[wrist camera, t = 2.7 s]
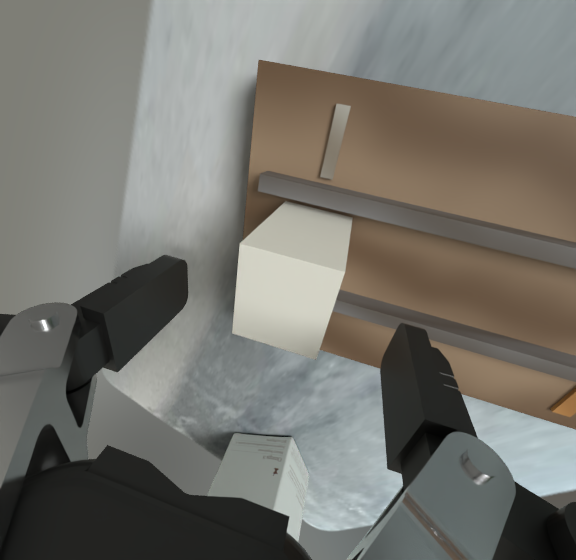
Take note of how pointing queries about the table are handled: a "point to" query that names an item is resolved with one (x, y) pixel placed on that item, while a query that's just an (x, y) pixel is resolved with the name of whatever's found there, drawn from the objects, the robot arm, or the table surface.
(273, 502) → the supplement box
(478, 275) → the fader console
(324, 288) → the fader tab
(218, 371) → the table surface
